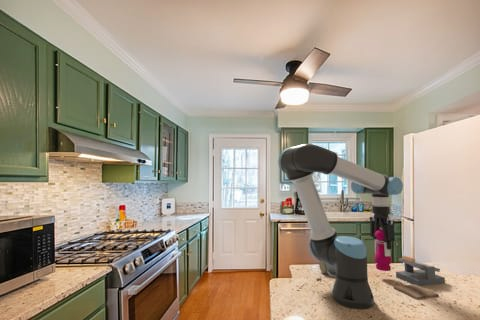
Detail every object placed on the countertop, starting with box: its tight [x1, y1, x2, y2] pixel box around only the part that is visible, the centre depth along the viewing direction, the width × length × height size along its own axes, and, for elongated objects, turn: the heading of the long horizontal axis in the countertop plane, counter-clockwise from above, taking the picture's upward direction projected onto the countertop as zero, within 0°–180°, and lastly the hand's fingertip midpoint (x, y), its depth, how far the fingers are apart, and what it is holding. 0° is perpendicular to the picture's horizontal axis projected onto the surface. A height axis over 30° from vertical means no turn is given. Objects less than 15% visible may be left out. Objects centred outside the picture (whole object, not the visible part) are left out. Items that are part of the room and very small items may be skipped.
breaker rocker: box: [398, 255, 441, 273], centre depth 124 cm, size 14×9×4 cm, turn 102°
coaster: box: [393, 284, 440, 300], centre depth 110 cm, size 11×11×1 cm
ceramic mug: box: [318, 260, 336, 279], centre depth 133 cm, size 11×8×8 cm
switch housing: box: [395, 262, 446, 287], centre depth 124 cm, size 15×13×8 cm
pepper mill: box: [374, 227, 393, 272], centre depth 128 cm, size 7×7×20 cm
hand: (382, 254), depth 127 cm, fingers closed on pepper mill, 6 cm apart
